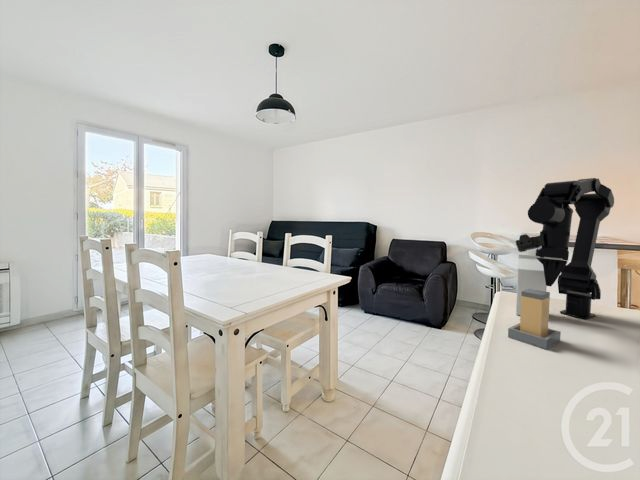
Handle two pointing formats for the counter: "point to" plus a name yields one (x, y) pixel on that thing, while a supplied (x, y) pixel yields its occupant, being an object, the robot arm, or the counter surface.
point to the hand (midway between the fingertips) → (549, 285)
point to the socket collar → (534, 337)
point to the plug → (535, 312)
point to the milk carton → (529, 277)
